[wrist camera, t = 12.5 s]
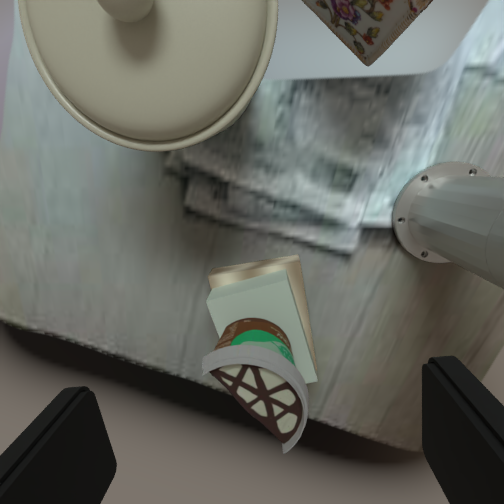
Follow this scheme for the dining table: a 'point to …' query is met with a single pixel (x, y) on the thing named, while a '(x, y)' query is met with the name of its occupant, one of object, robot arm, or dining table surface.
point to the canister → (151, 64)
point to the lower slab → (263, 267)
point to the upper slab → (264, 312)
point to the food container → (262, 376)
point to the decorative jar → (367, 22)
